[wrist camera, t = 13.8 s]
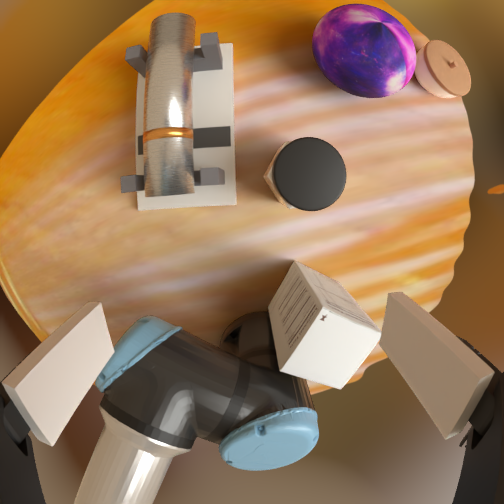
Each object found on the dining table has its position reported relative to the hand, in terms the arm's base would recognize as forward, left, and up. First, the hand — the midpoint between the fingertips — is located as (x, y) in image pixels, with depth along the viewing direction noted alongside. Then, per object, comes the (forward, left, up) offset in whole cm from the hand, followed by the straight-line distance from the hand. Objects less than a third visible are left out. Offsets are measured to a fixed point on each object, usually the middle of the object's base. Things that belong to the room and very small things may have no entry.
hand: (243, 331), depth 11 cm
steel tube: (+17, +9, -22) cm, 29 cm away
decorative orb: (+26, -17, -31) cm, 44 cm away
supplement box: (-12, -9, -31) cm, 34 cm away
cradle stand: (+16, +9, -31) cm, 36 cm away
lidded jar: (+28, -34, -31) cm, 54 cm away
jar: (+7, -7, -31) cm, 32 cm away
